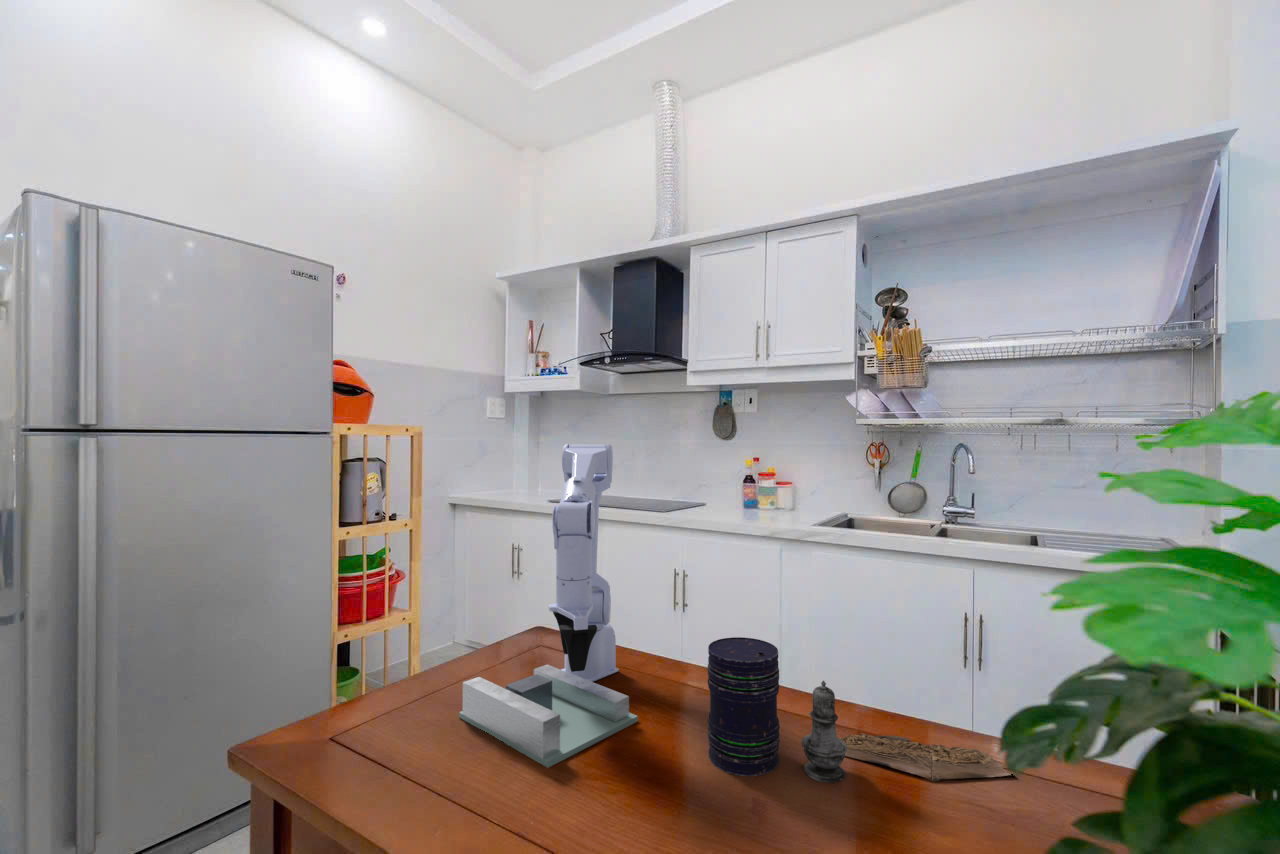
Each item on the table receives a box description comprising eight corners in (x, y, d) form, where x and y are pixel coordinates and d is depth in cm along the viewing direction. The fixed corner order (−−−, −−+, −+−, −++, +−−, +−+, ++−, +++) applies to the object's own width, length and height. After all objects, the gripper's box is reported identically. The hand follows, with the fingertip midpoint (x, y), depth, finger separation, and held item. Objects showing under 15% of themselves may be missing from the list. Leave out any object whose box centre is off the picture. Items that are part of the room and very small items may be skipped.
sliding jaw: (547, 681, 108) (547, 664, 108) (628, 715, 95) (628, 696, 95) (533, 686, 106) (533, 669, 106) (615, 722, 92) (615, 702, 92)
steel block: (536, 704, 99) (536, 674, 99) (552, 712, 96) (552, 680, 96) (505, 717, 94) (505, 685, 94) (521, 725, 91) (521, 692, 92)
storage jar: (693, 757, 84) (693, 649, 84) (733, 732, 91) (733, 632, 91) (755, 785, 77) (754, 667, 77) (793, 756, 84) (792, 648, 84)
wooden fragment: (1006, 757, 84) (1006, 749, 84) (1025, 802, 74) (1025, 793, 74) (815, 727, 93) (814, 720, 93) (808, 763, 83) (808, 756, 83)
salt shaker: (823, 788, 76) (822, 693, 77) (792, 766, 82) (791, 676, 82) (857, 776, 79) (856, 684, 79) (824, 755, 84) (823, 669, 84)
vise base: (547, 683, 109) (547, 650, 109) (637, 721, 95) (637, 683, 95) (459, 717, 96) (459, 680, 96) (547, 767, 81) (547, 724, 81)
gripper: (544, 568, 103) (544, 648, 103) (554, 589, 89) (554, 681, 89) (585, 566, 105) (585, 644, 105) (601, 586, 91) (601, 676, 91)
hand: (573, 661), depth 97 cm, fingers open, 7 cm apart
